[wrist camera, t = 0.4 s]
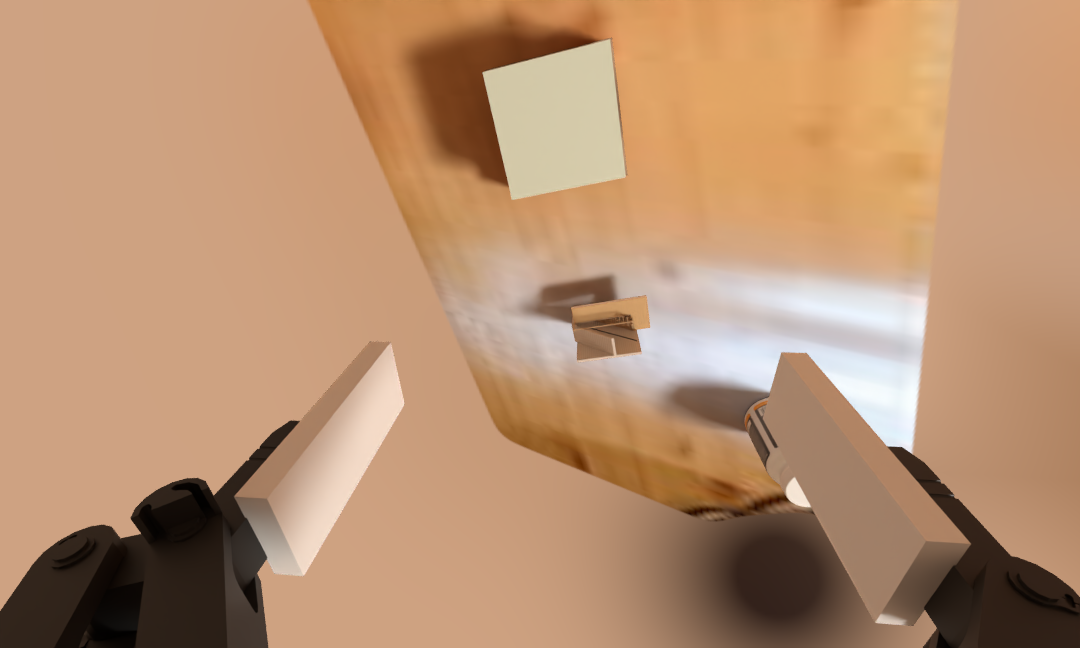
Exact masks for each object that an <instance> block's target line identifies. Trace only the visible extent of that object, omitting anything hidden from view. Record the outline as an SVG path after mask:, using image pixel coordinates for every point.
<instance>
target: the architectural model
mask: <svg viewBox="0 0 1080 648" xmlns="http://www.w3.org/2000/svg"><path fill="white" fill-rule="evenodd" d="M571 310H572V315H573V316H572V328H573V333H574V338H575V341H576V342H577V363H578V362H585V361H593V360H600V359H608V358H615V357H622V356H630V355H637V354H642V352H641V348H640V343H639V339H638V335H637V329H644V328H650V322H649V313H648V305H647V297H646V295H644V296H638V297H632V298H625V299H619V300H613V301H606V302H600V303H594V304H587V305H581V306H575V307H571Z"/></svg>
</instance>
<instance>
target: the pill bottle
mask: <svg viewBox="0 0 1080 648" xmlns="http://www.w3.org/2000/svg"><path fill="white" fill-rule="evenodd" d="M767 402H768V398H765V399H762V400H760V401H758V402H756V403H755V404H753V405H752V406H751V407H750V408H749V409H748V411H747V413H746V415H745V419H744V423H745V427H746V429H747V432H748V434H749V436H750V438H751V440H752V442H753V444H754V446H755V448H756V450H757V452H758V454H759V456H760V458H761V460H762V462H763V464H764V467H765V468H766V471H767V472H768V474H769V475H770V477H771V478H772V479H773V480H774V481H776V482H777V483H779V484H780V485H781V488H782V490H783V491H784V493H785V495H786V497H787V498H788V499H789V500H790V501H791V502H792V503H794V504H796V505H799V506H803V507H811V506H810V504H809V502H808V500H807V498H806V497H805V495H804V493H803V491H802V489H801V487H800V486H799V484H798V482H797V480H796V478H795V477H794V475H793V473H792V471H791V469H790V467H789V466H788V464H787V462H786V460H785V458H784V457H783V455H782V453H781V451H780V449H779V448H778V446H777V444H776V442H775V440H774V438H773V437H772V435H771V433H770V431H769V429H768V428H767V426H766V424H765V422H764V420H763V416H764V412H765V409H766V405H767Z"/></svg>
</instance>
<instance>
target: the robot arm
mask: <svg viewBox="0 0 1080 648" xmlns="http://www.w3.org/2000/svg"><path fill="white" fill-rule="evenodd" d="M403 406H404V400H403V396H402V391H401V386H400V382H399V378H398V373H397V369H396V364H395V359H394V355H393V350H392V346H391V342H369V343H368V345H367V346H366V347H365V348H364V349H363V350H362V351H361V353H360V354H359V355H358V356H357V357H356V358H355V359H354V360H353V362H352V363H351V364H350V365H349V366H348V367H347V368H346V370H345V371H344V372H343V373H342V374H341V375H340V376H339V378H338V379H337V380H336V381H335V382H334V383H333V384H332V385H331V387H330V388H329V389H328V390H327V391H326V392H325V393H324V395H323V396H322V397H321V398H320V399H319V400H318V401H317V403H316V404H315V405H314V406H313V407H312V408H311V410H310V411H309V412H308V413H307V414H306V415H305V416H304V417H303V419H302V420H301V421H289V422H288V423H286V424H285V425H283V426H282V427H280V428H279V429H277V430H276V431H274V432H273V433H272V434H271V435H270V436H269V437H268V438H267V439H266V440H265V441H264V442H263V443H262V445H261V446H260V449H257V450H256V451H255V452H254V453H253V454H252V455H251V457H250V458H249V461H246V462H245V463H244V464H243V465H242V466H241V467H240V468H239V469H238V471H237V472H236V473H235V474H234V475H233V476H232V477H231V478H230V479H229V480H228V481H227V483H225V484H224V486H223V487H222V488H221V489H220V490H219V491H218V492H217V493H216V494H215V495H214V496H213V494H212V492H211V490H210V488H209V487H208V485H207V483H206V481H204V480H201V479H199V478H187V479H183V480H179V481H176V482H172V483H170V484H168V485H166V486H164V487H162V488H160V489H158V490H156V491H155V492H153V493H152V494H151V495H149V496H148V497H146V498H145V499H144V500H143V501H142V502H141V503H140V504H139V505H138V506H137V507H136V508H135V510H134V512H133V514H132V516H131V520H132V521H133V523H134V524H135V525H136V527H137V528H138V530H139V531H140V532H141V534H139V535H135V536H130V537H125V538H120V537H119V536H118V534H117V533H116V532H115V531H114V530H113V528H112V527H110V526H106V525H98V526H91V527H88V528H85V529H82V530H80V531H77V532H74V533H72V534H71V535H69V536H67V537H65V538H63V539H61V540H60V541H58V542H57V543H55V544H54V545H53V546H51V547H50V548H49V549H47V550H46V551H45V552H44V553H43V554H42V555H41V556H40V557H39V558H38V559H37V560H36V561H35V562H34V564H33V565H32V566H31V568H30V569H29V571H28V572H27V574H26V575H25V577H24V578H23V579H22V581H21V582H20V584H19V585H18V586H17V588H16V589H15V591H14V592H13V594H12V595H11V597H10V598H9V599H8V601H7V602H6V604H5V605H4V607H3V608H2V609H1V611H0V648H268V641H267V632H266V624H265V614H264V607H263V597H262V589H261V581H260V579H259V577H258V575H257V572H258V571H259V569H260V568H261V567H262V565H263V564H264V562H265V560H266V559H267V560H268V562H269V564H270V566H271V568H272V570H273V572H274V574H285V575H297V576H304V575H305V573H306V571H307V570H308V568H309V566H310V564H311V563H312V561H313V559H314V558H315V556H316V554H317V553H318V551H319V549H320V547H321V546H322V544H323V542H324V541H325V539H326V537H327V535H328V534H329V532H330V530H331V529H332V527H333V525H334V524H335V522H336V520H337V518H338V517H339V515H340V513H341V511H342V509H343V508H344V507H345V505H346V503H347V501H348V500H349V498H350V496H351V495H352V493H353V491H354V489H355V488H356V486H357V484H358V482H359V481H360V479H361V478H362V475H363V474H364V472H365V471H366V469H367V467H368V466H369V464H370V462H371V460H372V459H373V457H374V455H375V454H376V452H377V450H378V448H379V447H380V445H381V443H382V442H383V440H384V438H385V437H386V435H387V433H388V431H389V430H390V428H391V426H392V425H393V423H394V421H395V420H396V418H397V416H398V414H399V413H400V411H401V409H402V408H403ZM763 420H764V422H765V424H766V426H767V428H768V429H769V431H770V433H771V435H772V437H773V438H774V440H775V442H776V444H777V446H778V448H779V449H780V451H781V453H782V455H783V457H784V458H785V460H786V462H787V464H788V466H789V467H790V469H791V471H792V473H793V475H794V477H795V478H796V480H797V482H798V484H799V486H800V487H801V489H802V491H803V493H804V495H805V497H806V498H807V500H808V502H809V504H810V506H811V507H812V509H813V511H814V513H815V515H816V516H817V518H818V520H819V522H820V524H821V525H822V527H823V529H824V531H825V533H826V535H827V536H828V538H829V540H830V542H831V544H832V545H833V547H834V549H835V551H836V553H837V555H838V556H839V558H840V560H841V562H842V563H843V565H844V567H845V569H846V571H847V572H848V575H849V576H850V578H851V580H852V582H853V583H854V585H855V587H856V589H857V591H858V593H859V594H860V596H861V598H862V600H863V601H864V604H865V605H866V607H867V609H868V611H869V612H870V614H871V616H872V618H873V620H874V622H875V623H884V624H896V625H908V626H913V625H914V624H915V623H916V621H917V620H918V618H919V617H920V615H921V614H922V612H923V611H924V610H926V612H927V613H928V615H929V616H930V618H931V619H932V621H933V622H934V624H935V625H936V627H937V629H936V631H935V632H934V633H933V635H932V636H931V637H930V639H929V640H928V641H927V642H926V644H925V645H924V646H923V648H1080V597H1079V596H1078V595H1077V594H1076V592H1075V591H1074V590H1073V589H1072V588H1071V587H1069V586H1068V585H1067V584H1066V583H1064V582H1063V581H1062V580H1061V579H1059V578H1057V576H1055V575H1054V574H1052V573H1050V572H1048V571H1047V570H1045V569H1043V568H1041V567H1040V566H1038V565H1036V564H1033V563H1031V562H1028V561H1026V560H1023V559H1020V558H1018V557H1012V556H1010V554H1008V552H1007V551H1006V550H1005V549H1004V548H1003V547H1002V546H1001V545H1000V544H999V543H998V542H997V540H995V538H994V537H993V536H992V535H991V534H990V533H989V532H988V531H987V530H986V529H985V528H984V526H983V525H982V524H981V523H980V522H979V521H978V520H977V519H976V518H975V517H974V516H973V515H972V514H971V513H970V511H969V510H968V509H967V508H966V507H965V506H964V505H963V504H962V503H961V502H960V501H959V499H955V498H954V494H953V493H952V492H951V491H950V490H949V489H948V488H947V487H946V485H945V484H941V482H940V479H939V478H938V477H937V476H936V475H935V474H934V473H933V471H932V470H931V469H930V468H929V467H928V466H927V465H926V464H925V463H924V462H922V461H921V460H920V459H918V458H917V457H915V456H914V455H912V454H911V453H910V452H908V451H907V450H905V449H904V448H902V447H887V446H886V445H885V444H884V442H883V441H882V440H881V439H880V438H879V437H878V435H877V434H876V433H875V432H874V431H873V430H872V428H871V427H870V426H869V425H868V424H867V423H866V422H865V420H864V419H863V418H862V417H861V416H860V415H859V413H858V412H857V411H856V410H855V409H854V408H853V406H852V405H851V404H850V403H849V402H848V401H847V400H846V398H845V397H844V396H843V395H842V394H841V393H840V391H839V390H838V389H837V388H836V387H835V386H834V384H833V383H832V382H831V381H830V380H829V379H828V377H827V376H826V375H825V374H824V373H823V372H822V371H821V369H820V368H819V367H818V366H817V365H816V364H815V362H814V361H813V360H812V359H811V358H810V357H809V355H808V354H807V353H781V356H780V360H779V363H778V367H777V370H776V374H775V377H774V381H773V384H772V388H771V391H770V395H769V398H768V402H767V405H766V409H765V412H764V416H763Z"/></svg>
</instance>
